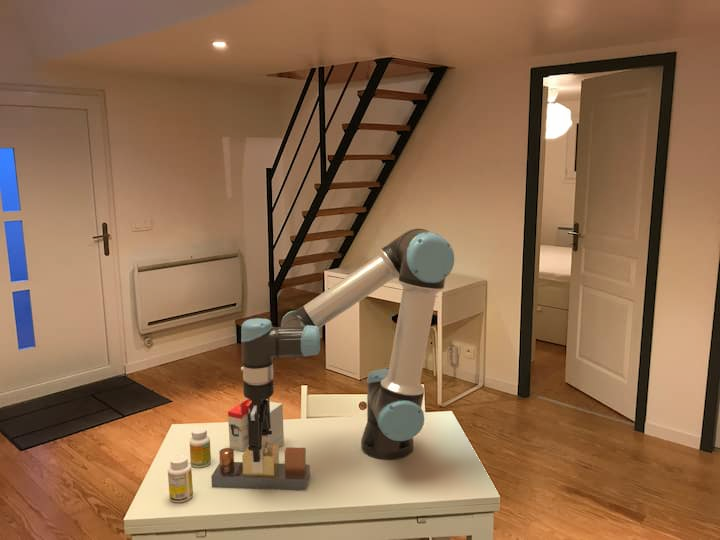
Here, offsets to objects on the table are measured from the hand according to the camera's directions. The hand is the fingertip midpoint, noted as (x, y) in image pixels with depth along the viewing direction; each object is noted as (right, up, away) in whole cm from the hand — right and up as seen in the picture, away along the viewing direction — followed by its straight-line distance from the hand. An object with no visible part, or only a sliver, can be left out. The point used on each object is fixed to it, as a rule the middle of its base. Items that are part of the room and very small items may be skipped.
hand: (261, 465), depth 152 cm
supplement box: (-2, -1, +20) cm, 20 cm away
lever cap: (0, -1, 0) cm, 1 cm away
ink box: (-8, -1, +21) cm, 23 cm away
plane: (0, -4, +1) cm, 4 cm away
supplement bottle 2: (-18, -3, +10) cm, 21 cm away
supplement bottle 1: (-19, -6, -7) cm, 21 cm away
